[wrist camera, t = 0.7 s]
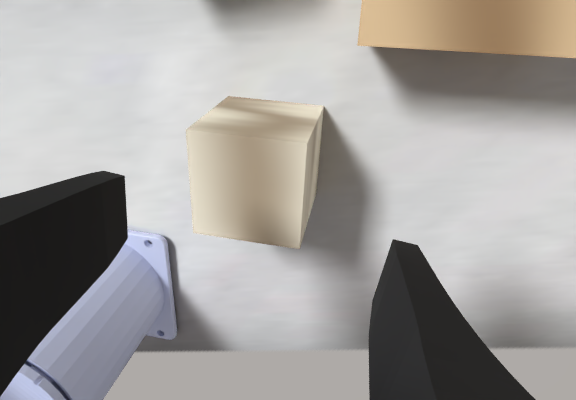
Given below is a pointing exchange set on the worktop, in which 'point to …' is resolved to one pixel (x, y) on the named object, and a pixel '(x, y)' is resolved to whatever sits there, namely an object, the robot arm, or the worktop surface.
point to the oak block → (472, 26)
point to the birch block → (254, 170)
